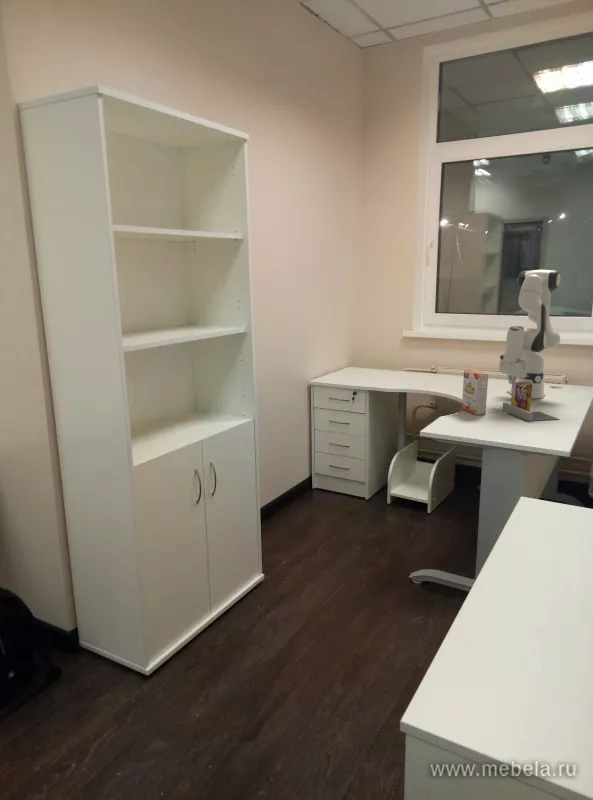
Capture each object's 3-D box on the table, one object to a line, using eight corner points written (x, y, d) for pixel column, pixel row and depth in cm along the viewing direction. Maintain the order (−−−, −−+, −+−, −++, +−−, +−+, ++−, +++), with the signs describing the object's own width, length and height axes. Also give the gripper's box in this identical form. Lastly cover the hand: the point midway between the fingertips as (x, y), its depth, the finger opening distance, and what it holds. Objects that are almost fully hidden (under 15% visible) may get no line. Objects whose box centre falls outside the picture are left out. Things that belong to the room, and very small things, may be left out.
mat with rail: (499, 410, 294) (500, 403, 294) (531, 409, 298) (531, 401, 297) (525, 421, 272) (526, 413, 272) (559, 419, 276) (560, 411, 275)
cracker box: (460, 409, 298) (463, 369, 293) (471, 408, 299) (474, 369, 294) (475, 415, 284) (478, 374, 280) (485, 414, 286) (489, 373, 281)
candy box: (526, 410, 295) (528, 381, 292) (530, 412, 291) (533, 383, 288) (509, 410, 294) (512, 381, 291) (513, 412, 290) (516, 383, 287)
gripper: (531, 360, 287) (528, 387, 289) (508, 355, 306) (506, 380, 309) (519, 360, 285) (517, 387, 288) (497, 355, 305) (495, 380, 308)
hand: (511, 384), depth 299 cm, fingers closed
